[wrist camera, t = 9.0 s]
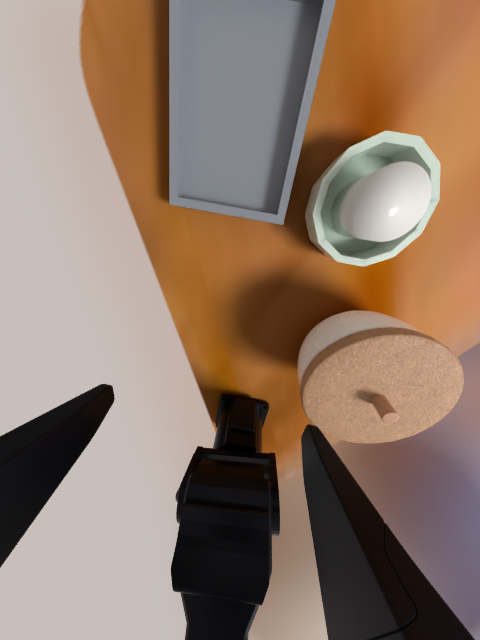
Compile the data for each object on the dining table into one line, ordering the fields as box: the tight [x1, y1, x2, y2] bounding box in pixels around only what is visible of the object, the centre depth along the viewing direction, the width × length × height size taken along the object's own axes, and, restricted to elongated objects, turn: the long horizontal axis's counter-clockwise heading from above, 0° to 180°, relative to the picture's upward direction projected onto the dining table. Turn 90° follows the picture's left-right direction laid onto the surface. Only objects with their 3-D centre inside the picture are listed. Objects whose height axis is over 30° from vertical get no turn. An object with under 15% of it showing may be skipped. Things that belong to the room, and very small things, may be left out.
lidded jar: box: [298, 310, 464, 443], centre depth 17 cm, size 11×11×9 cm
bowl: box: [305, 131, 440, 267], centre depth 15 cm, size 8×8×3 cm
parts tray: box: [169, 0, 336, 225], centre depth 14 cm, size 12×9×2 cm
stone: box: [331, 161, 432, 242], centre depth 14 cm, size 4×4×4 cm
